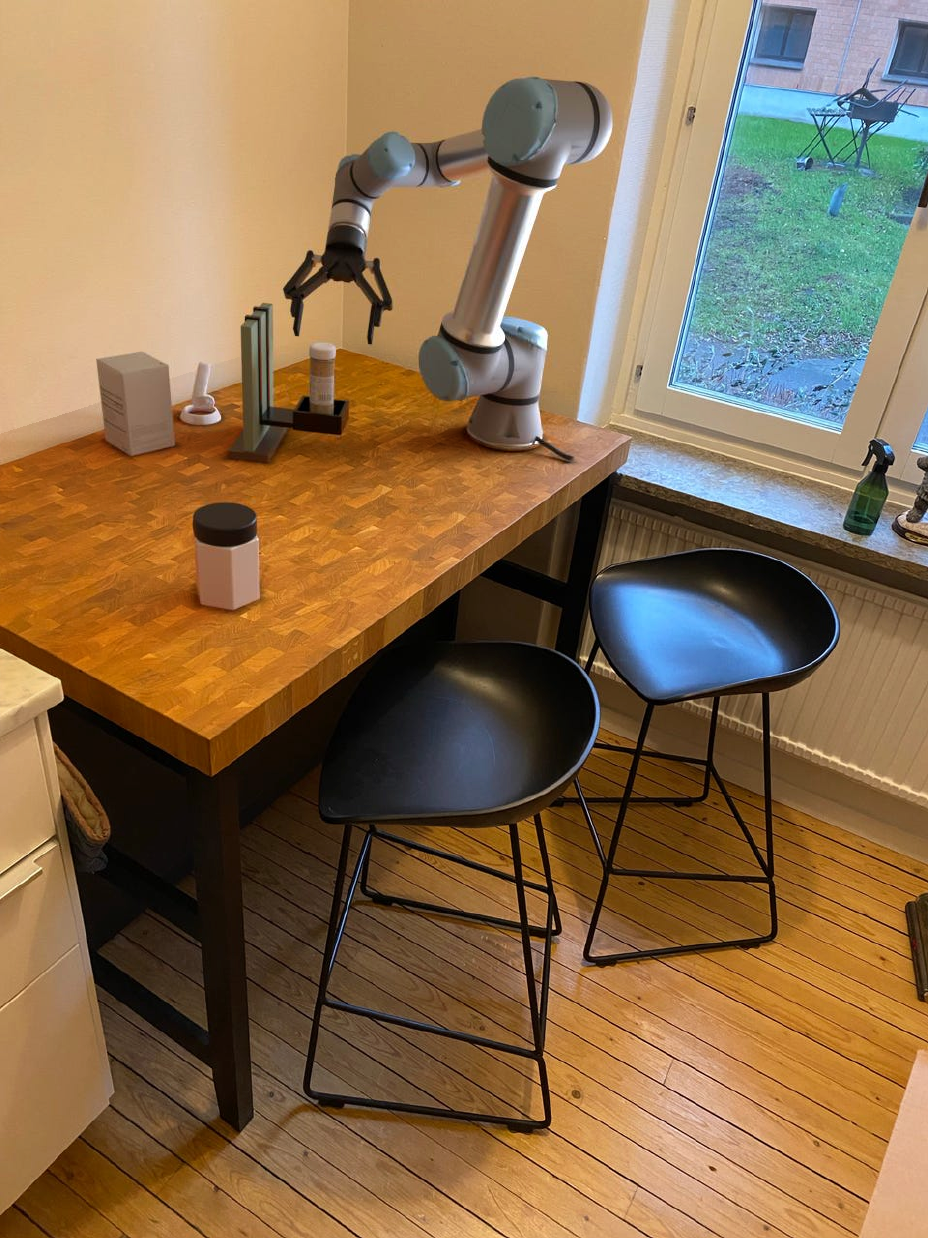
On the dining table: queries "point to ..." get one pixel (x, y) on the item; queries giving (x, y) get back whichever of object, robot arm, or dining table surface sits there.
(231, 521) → the jar
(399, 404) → the dining table surface
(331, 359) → the sprinkles bottle
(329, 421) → the black tray bracket
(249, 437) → the green slatted stand
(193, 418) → the white vr controller
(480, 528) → the dining table surface
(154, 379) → the rectangular carton
